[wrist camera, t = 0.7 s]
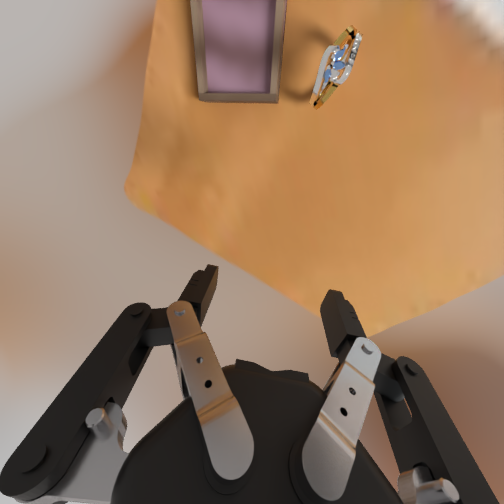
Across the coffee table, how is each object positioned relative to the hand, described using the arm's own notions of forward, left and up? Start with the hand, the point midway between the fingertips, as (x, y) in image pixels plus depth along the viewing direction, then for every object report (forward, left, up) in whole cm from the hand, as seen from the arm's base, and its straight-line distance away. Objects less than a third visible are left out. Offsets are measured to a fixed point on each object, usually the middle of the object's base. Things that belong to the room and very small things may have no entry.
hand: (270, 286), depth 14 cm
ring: (-15, +2, -24) cm, 29 cm away
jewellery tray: (-18, -10, -24) cm, 32 cm away
